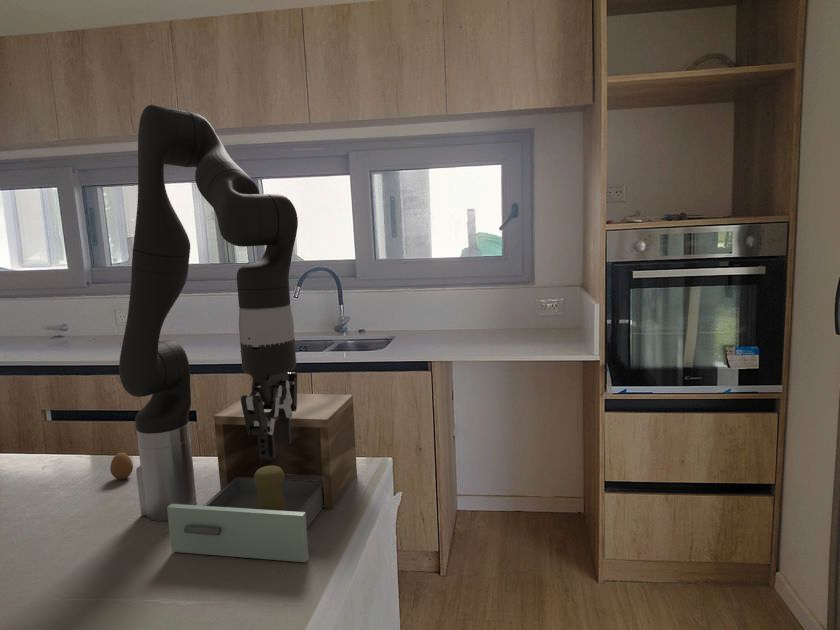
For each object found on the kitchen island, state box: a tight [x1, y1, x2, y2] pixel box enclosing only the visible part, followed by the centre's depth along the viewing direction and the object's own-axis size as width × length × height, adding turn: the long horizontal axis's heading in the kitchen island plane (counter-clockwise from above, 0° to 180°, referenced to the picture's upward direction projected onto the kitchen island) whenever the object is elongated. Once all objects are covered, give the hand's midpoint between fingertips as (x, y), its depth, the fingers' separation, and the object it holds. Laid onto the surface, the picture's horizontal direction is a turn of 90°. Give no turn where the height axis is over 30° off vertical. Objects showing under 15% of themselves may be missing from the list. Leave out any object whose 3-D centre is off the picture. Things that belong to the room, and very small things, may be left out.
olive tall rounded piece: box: [254, 465, 287, 511], centre depth 103 cm, size 6×6×11 cm
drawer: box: [167, 476, 325, 563], centre depth 106 cm, size 24×22×8 cm
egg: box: [109, 452, 134, 480], centre depth 129 cm, size 4×4×6 cm
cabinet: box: [213, 393, 358, 511], centre depth 121 cm, size 23×16×18 cm
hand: (276, 450), depth 86 cm, fingers open, 5 cm apart
